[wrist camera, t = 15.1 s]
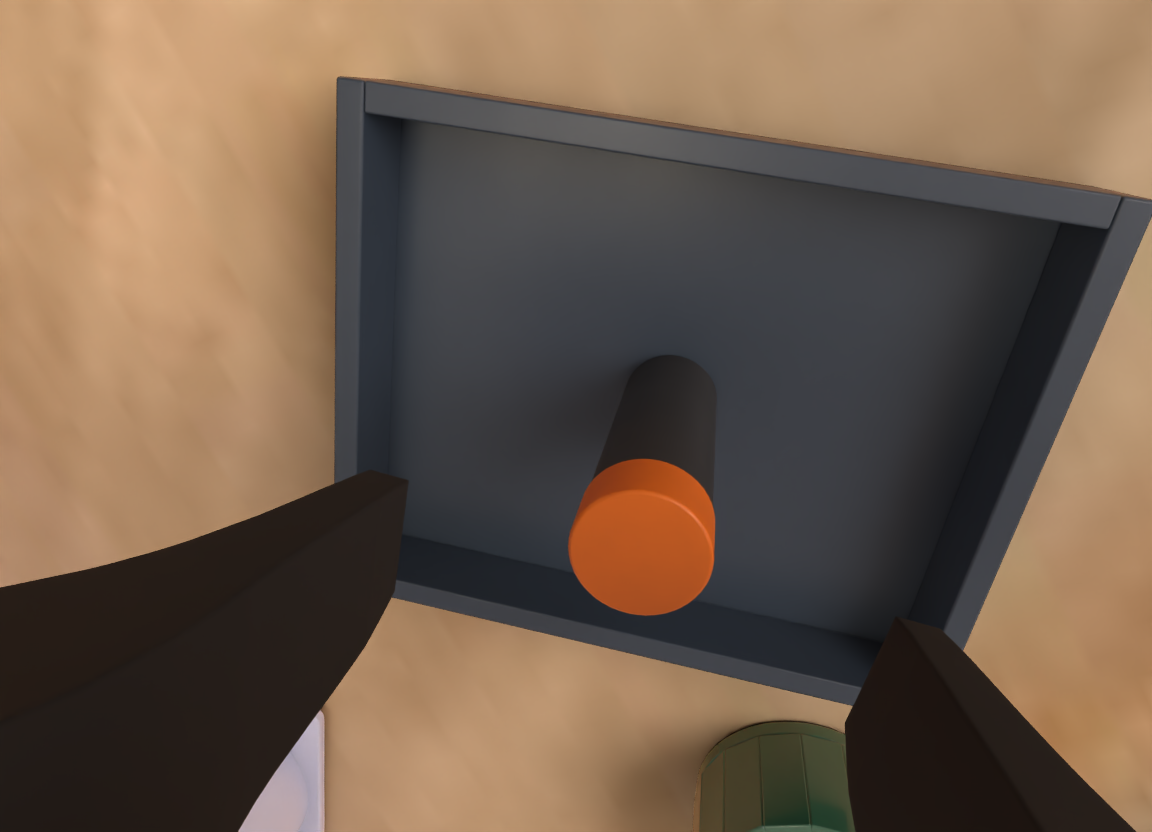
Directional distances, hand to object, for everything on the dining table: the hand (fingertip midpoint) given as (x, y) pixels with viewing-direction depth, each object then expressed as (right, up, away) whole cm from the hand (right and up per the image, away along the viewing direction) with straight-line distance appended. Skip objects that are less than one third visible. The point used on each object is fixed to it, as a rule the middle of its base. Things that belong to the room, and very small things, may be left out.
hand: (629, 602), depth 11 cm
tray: (+2, +3, +8) cm, 9 cm away
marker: (+2, +3, +7) cm, 8 cm away
